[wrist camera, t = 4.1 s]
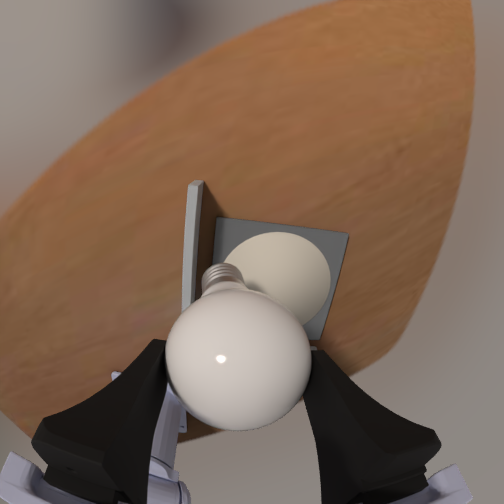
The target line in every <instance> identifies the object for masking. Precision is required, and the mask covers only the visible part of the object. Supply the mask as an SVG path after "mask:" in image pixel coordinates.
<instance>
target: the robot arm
mask: <svg viewBox="0 0 504 504" xmlns="http://www.w3.org/2000/svg"><path fill="white" fill-rule="evenodd" d="M165 346H166V341H165V340H158V339H153V340H152V341H151V342H150V343H149V344H148V346H147V347H146V348H145V349H144V350H143V351H142V352H141V354H140V355H139V356H138V357H137V358H136V359H135V360H134V361H133V362H132V363H131V364H130V365H129V366H128V367H127V368H126V369H125V370H124V371H123V372H122V373H120V372H112V374H111V376H112V380H113V381H112V382H111V383H109V384H108V385H107V386H106V387H104V388H103V389H102V390H100V391H99V392H97V393H96V394H94V395H93V396H91V397H90V398H88V399H86V400H85V401H83V402H81V403H79V404H77V405H75V406H73V407H71V408H69V409H67V410H65V411H62V412H59V413H57V414H54V415H51V416H48V417H45V418H43V420H42V421H41V423H40V424H39V426H38V428H37V431H36V433H35V435H34V437H33V439H32V441H31V443H32V446H33V448H34V450H35V451H36V452H37V453H38V454H39V456H40V457H41V458H42V459H43V460H44V461H45V462H46V463H47V464H48V467H47V470H46V472H45V473H43V472H42V471H41V470H40V469H39V467H37V466H36V465H35V464H34V463H32V462H31V461H29V460H27V459H25V458H23V457H22V456H20V455H18V454H16V453H14V452H12V451H11V452H10V453H9V455H8V458H7V460H6V462H5V464H4V467H3V469H2V471H1V474H0V497H1V498H2V499H3V500H5V501H6V502H8V503H9V504H191V497H190V493H189V490H188V489H187V487H186V485H185V484H184V483H183V482H182V481H178V478H179V477H178V476H179V472H178V471H175V470H173V468H174V460H175V453H176V446H177V439H178V432H181V433H186V432H187V420H186V410H185V409H184V408H183V406H182V405H181V404H180V403H179V402H178V400H177V399H176V397H175V396H174V394H173V392H172V390H171V388H170V386H169V383H168V380H167V377H166V373H165V366H164V353H165ZM311 355H312V366H311V374H310V378H309V381H308V384H307V387H306V389H305V391H304V393H303V398H304V402H305V406H306V409H307V413H308V416H309V420H310V423H311V426H312V430H313V434H314V437H315V442H316V448H317V455H318V462H319V470H320V482H321V501H322V504H467V503H468V502H469V501H471V500H472V499H473V497H472V495H471V493H470V491H469V489H468V487H467V485H466V483H465V481H464V479H463V477H462V475H461V473H460V471H459V469H458V467H457V465H456V464H452V465H450V466H449V467H446V468H444V469H442V470H440V471H438V472H437V473H435V474H433V475H432V476H431V477H430V478H429V479H428V480H426V477H425V475H424V473H425V472H426V470H427V469H426V467H425V464H426V463H427V462H428V461H429V460H430V459H431V458H433V457H434V456H435V454H436V453H437V452H438V451H439V450H440V448H441V442H440V440H439V438H438V436H437V435H436V433H435V431H434V430H433V429H430V428H427V427H424V426H421V425H419V424H416V423H413V422H411V421H409V420H407V419H405V418H403V417H401V416H399V415H397V414H395V413H393V412H392V411H390V410H389V409H387V408H385V407H384V406H382V405H381V404H379V403H378V402H377V401H375V400H374V399H373V398H371V397H370V396H369V395H367V394H366V393H365V392H364V391H363V390H362V389H361V388H359V387H358V386H357V385H356V384H355V383H354V382H353V381H352V380H351V379H350V378H349V377H348V376H347V375H346V374H345V373H344V372H343V371H342V370H341V369H340V368H339V367H338V366H337V365H336V363H335V362H334V361H333V360H332V359H331V358H330V357H329V356H328V355H327V354H326V353H325V352H324V350H311Z"/></svg>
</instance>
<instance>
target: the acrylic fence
mask: <svg viewBox="0 0 504 504" xmlns="http://www.w3.org/2000/svg"><path fill="white" fill-rule="evenodd" d="M203 184H204V181H202V180H195V181H193V182H192V183H191V184H189V185H188V195H187V207H186V220H185V236H184V255H183V280H182V312H183V311H184V310H185V309H186V308H187V307H188V306H190V305H191V304H192V303H193V302H195V288H196V269H197V254H198V240H199V227H200V215H201V204H202V193H203ZM310 347H311V350H317V348H316V346H310Z"/></svg>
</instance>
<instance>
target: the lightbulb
mask: <svg viewBox="0 0 504 504" xmlns="http://www.w3.org/2000/svg"><path fill="white" fill-rule="evenodd" d="M164 366H165V373H166V377H167V380H168V383H169V386H170V388H171V390H172V392H173V394H174V396H175V397H176V399H177V400H178V402H179V403H180V404H181V405H182V406H183V408H184V409H185V410H186V411H188V412H189V413H190V414H191V415H192V416H194V417H195V418H197V419H198V420H200V421H201V422H203V423H205V424H207V425H210V426H212V427H215V428H219V429H223V430H229V431H248V430H254V429H258V428H261V427H264V426H267V425H270V424H272V423H274V422H276V421H277V420H278V419H280V418H282V417H283V416H285V415H286V414H287V413H288V412H289V411H290V410H291V409H292V408H293V407H294V406H295V405H296V404H297V403H298V401H299V400H300V398H301V397H302V395H303V393H304V391H305V389H306V387H307V384H308V381H309V378H310V374H311V366H312V355H311V347H310V343H309V340H308V337H307V334H306V332H305V330H304V328H303V326H302V324H301V323H300V321H299V320H298V319H297V317H296V316H295V315H294V314H293V313H292V312H291V311H290V310H289V309H288V308H287V307H286V306H285V305H284V304H282V303H281V302H279V301H278V300H276V299H275V298H273V297H271V296H269V295H266V294H264V293H261V292H258V291H254V290H249V289H248V288H247V287H246V285H245V282H244V279H243V276H242V273H241V271H240V270H239V269H238V268H237V267H236V266H234V265H232V264H229V263H218V264H214V265H212V266H211V267H209V268H208V269H207V270H206V271H205V273H204V274H203V277H202V296H201V298H200V299H198V300H196V301H195V302H193V303H192V304H191V305H190V306H188V307H187V308H186V309H185V310H184V311H183V312H182V313H181V315H180V316H179V317H178V318H177V320H176V321H175V323H174V325H173V326H172V328H171V330H170V333H169V335H168V338H167V341H166V346H165V353H164Z"/></svg>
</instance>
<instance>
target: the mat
mask: <svg viewBox="0 0 504 504" xmlns="http://www.w3.org/2000/svg"><path fill="white" fill-rule="evenodd" d="M348 236H349V234H348V233H344V232H337V231H329V230H322V229H315V228H307V227H300V226H292V225H284V224H276V223H268V222H259V221H251V220H242V219H233V218H224V217H217V220H216V230H215V241H214V251H213V263H212V265H214V264H218V263H229V264H232V265H234V266H236V267H237V268H238V269H239V270H240V271H241V273H242V276H243V279H244V282H245V285H246V287H247V288H248V289H249V290H254V291H258V292H261V293H264V294H266V295H269V296H271V297H273V298H275V299H276V300H278V301H279V302H281V303H282V304H284V305H285V306H286V307H287V308H288V309H289V310H290V311H291V312H292V313H293V314H294V315H295V316H296V317H297V319H298V320H299V321H300V323H301V324H302V326H303V328H304V330H305V332H306V334H307V337H308V340H320V337H321V334H322V331H323V328H324V324H325V321H326V318H327V315H328V311H329V308H330V305H331V301H332V298H333V294H334V291H335V287H336V283H337V280H338V276H339V272H340V268H341V265H342V261H343V257H344V253H345V248H346V244H347V240H348Z"/></svg>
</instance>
